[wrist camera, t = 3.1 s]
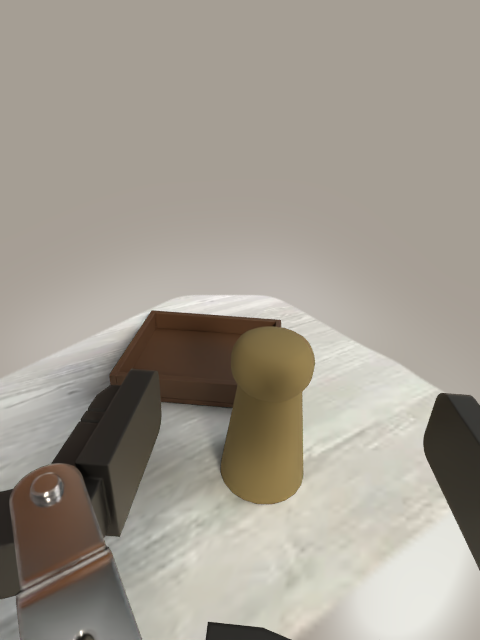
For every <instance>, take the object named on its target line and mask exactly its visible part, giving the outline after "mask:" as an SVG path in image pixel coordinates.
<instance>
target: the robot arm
mask: <svg viewBox="0 0 480 640" xmlns="http://www.w3.org/2000/svg"><path fill="white" fill-rule="evenodd" d="M160 425H161V398H160V383H159V374H158V371H154V370H141V369H131V370H130V371H129V372H128V374H127V376H126V378H125V379H124V381H123V383H122V384H121V385H110V386H109V387H107V388H106V389H105V390H103V391H102V392H100V393H99V394H98V395H97V396H96V397H95V399H94V400H93V402H92V403H91V405H90V406H89V408H88V411H86V412H85V414H84V415H83V417H82V418H81V422H79V423H78V424H77V426H76V427H75V429H74V430H73V432H72V433H71V435H70V436H69V438H68V439H67V441H66V442H65V444H64V445H63V447H62V448H61V450H60V451H59V453H58V454H57V456H56V457H55V459H54V460H53V462H52V463H51V464H50V465H46V466H43V467H40V468H38V469H36V470H34V471H32V472H30V473H29V474H28V475H26V476H25V477H24V478H22V479H21V480H20V481H19V482H18V484H17V485H16V486H15V487H14V489H11V490H7V491H2V492H0V599H4V598H8V597H12V596H16V605H17V615H18V624H19V633H20V640H142V638H141V635H140V632H139V629H138V626H137V623H136V621H135V618H134V615H133V612H132V609H131V606H130V603H129V601H128V598H127V595H126V592H125V589H124V586H123V583H122V580H121V578H120V575H119V572H118V569H117V566H116V563H115V560H114V558H113V555H112V552H111V550H110V548H109V547H107V546H106V544H105V541H104V537H105V535H106V536H116V537H120V535H121V532H122V529H123V527H124V524H125V521H126V519H127V516H128V513H129V511H130V508H131V505H132V503H133V500H134V497H135V495H136V492H137V489H138V487H139V484H140V481H141V479H142V476H143V473H144V471H145V468H146V465H147V463H148V460H149V457H150V455H151V452H152V449H153V447H154V444H155V441H156V439H157V436H158V433H159V430H160ZM423 445H424V452H425V456H426V458H427V460H428V462H429V465H430V467H431V469H432V471H433V473H434V475H435V477H436V479H437V481H438V484H439V486H440V488H441V490H442V492H443V494H444V496H445V498H446V500H447V503H448V505H449V507H450V509H451V511H452V513H453V515H454V517H455V519H456V521H457V524H458V525H459V527H460V530H461V532H462V534H463V536H464V538H465V540H466V543H467V545H468V547H469V549H470V551H471V553H472V555H473V557H474V559H475V561H476V564H477V565H478V568H479V570H480V405H479V404H478V403H477V401H476V400H475V399H474V398H473V397H472V396H470V395H462V394H449V393H440V394H439V395H438V396H437V398H436V401H435V404H434V407H433V410H432V413H431V416H430V419H429V422H428V425H427V428H426V431H425V434H424V440H423ZM206 640H291V639H288V638H286V637H284V636H281V635H279V634H276V633H274V632H272V631H269V630H267V629H265V628H261V627H252V626H242V625H233V624H224V623H214V622H208V626H207V633H206Z"/></svg>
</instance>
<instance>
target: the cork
mask: <svg viewBox="0 0 480 640" xmlns="http://www.w3.org/2000/svg"><path fill="white" fill-rule="evenodd" d="M314 366H315V358H314V353H313V351H312V348H311V346H310V344H309V342H308V341H307V340H306V339H305V338H304V337H303V336H301V335H299V334H298V333H296V332H294V331H291V330H289V329H286V328H281V327H271V326H266V327H258V328H255V329H252V330H249V331H247V332H245V333H244V334H242V335H241V336H240V337H239V339H238V340H237V341H236V343H235V345H234V346H233V349H232V352H231V371H232V374H233V377H234V379H235V381H236V383H237V384H238V385H237V390H236V394H235V399H234V404H233V409H232V413H231V418H230V423H229V427H228V432H227V437H226V441H225V446H224V451H223V456H222V460H221V475H222V477H223V480H224V483H225V484H226V485H227V486H228V488H229V489H230V490H231V491H232V492H233V493H234V494H236V495H237V496H239V497H240V498H242V499H243V500H246V501H250V502H253V503H256V504H274V503H278V502H281V501H285V500H286V499H288V498H289V497H291V496H292V495H294V494H295V493H296V491H297V490H298V488H299V487H300V485H301V483H302V478H303V415H302V391H303V390H304V389H305V388H306V387H307V386H308V385H309V383H310V381H311V379H312V375H313V371H314Z"/></svg>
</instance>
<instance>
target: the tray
mask: <svg viewBox="0 0 480 640" xmlns="http://www.w3.org/2000/svg"><path fill="white" fill-rule="evenodd" d="M266 326H271V327H281V320H274V319H261V318H247V317H233V316H220V315H206V314H192V313H179V312H165V311H151V312H150V314H149V315H148V317H147V318H146V320H145V321H144V323H143V325H142V326H141V328H140V329H139V331H138V332H137V334H136V335H135V337H134V338H133V340H132V341H131V343H130V344H129V346H128V347H127V349H126V350H125V352H124V353H123V355H122V356H121V358H120V359H119V361H118V362H117V364H116V365H115V367H114V368H113V370H112V372H111V373H110V375H109V376H110V384H111V385H121V384H122V383H123V381H124V379H125V378H126V376H127V374H128V372H129V371H130V370H131V369H141V370H154V371H158V374H159V383H160V398H161V402H172V403H183V404H195V405H207V406H219V407H231V408H233V404H234V399H235V394H236V390H237V385H238V384H237V383H236V381H235V379H234V377H233V374H232V371H231V352H232V349H233V346H234V345H235V343H236V341H237V340H238V339H239V337H240V336H241V335H242V334H244V333H245V332H247V331H249V330H252V329H255V328H258V327H266Z"/></svg>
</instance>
